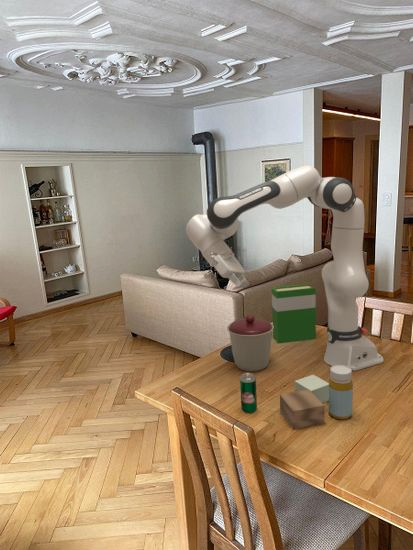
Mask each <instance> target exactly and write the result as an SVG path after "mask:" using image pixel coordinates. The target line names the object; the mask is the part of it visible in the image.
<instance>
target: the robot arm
mask: <svg viewBox="0 0 413 550" xmlns="http://www.w3.org/2000/svg"><path fill="white" fill-rule="evenodd" d="M304 199H307V200H308V201H309V203H310V204H312V205H313V206H314V207H318V208H322V209H326V210H331V214H332V217H333V220H332V226H331V227H332V228H331V229H332V230H331V239H330V240H331V241H330V249H331V253H332V255H333V261H328V262H327V263H326V264H325V265H324V266H323V267H322V269H321V278H322V281H323V284H324V291H325V296H326V302H327V309H328V310H327V319H328V320H327V322H328V323H327V327H326V340H327V341H326V342H327V343H326V350H325V354H324V356H323V361H324V362H325V363H326V364H327V365H329V366H331V367H332V366H335V365H344V366H347V367H349V368H351V370H352V371H354V372H355V371H359V370H362V369H366V368H369V367H373V366H376V365H378V364H382V363H384V357H383V356H382V355H381V354H380V353H378V350H377V346H376V345H375V343H374V342H373V341H372V340H370V339H368V338H367V337H366V336H364V335H367V334H368V329H366V328H365V327H361V326H359V306H358V304H357V301H356V299H359V298H361V297H363V296H364V295H365V294H366V293H367V292H368V289H369V284H370V283H369V279H368V277H367V274H366V270H365V263H364V254H363V245H364V244H363V243H364V233H365V217H366V216H365V206H364V202H363V201H362V200H361V199H360V198H359V197H357V195H356V194H355V188H354V186H353V184H352V183H351V181H350V180H348V179H346V178H345V177H335V176H327V177H322V176H320V173H319V171H318V170H317V168H316V167H314V166H312V165H310V164H309V165H308V164H305V165H303V166H299V167H296V168H293V169H291V170H288V171H286V172H285V173H283V174H280V175H278V176H276V177H275V178H273V179H270V180H268V181H266V182H263V183H262V182H261V183H259V184H257V185H255V186H253V187H251V188H248V189H246V190H244V191H241V192H239V193H236V194H234V195H227V196H221V197H217V198H215V199H214V200H212V201H210V203H209V204H208V206H207V209H206V214H201V213H200V214H199V213H198V214H197V213H196V214H195V215H193V216H192V217H191V218H190V219H189V220H188V221H187V223H186V226H185V233H186V235H187V237H188V239H189V240H190V241H191V242H192V244H193V245H194V247H195V248H197V249H198V250H199V251H200V253H201V254H202V257H203V258H204V259H205V260H206V262H207V263H208V264H209V266H211V267H212V268H213V267H214V269H215V270H216V271H217V273H218V274H219V275H220V276H221V277H222V278H225V279H228V280H229V281H230V282H231V283H233V284H234V285H235V287H237V288H240V287H241V286H243V287H244V288H247V287H249V285H250V283H249V282H248V281H247V279H246V277H245V274H246V271H245V269H244V267H243V266H242V265H241V263H240V262H239V260H238V259H237V257H235V253H234V251H232V249H231V248H230V247H229V245H228V244H227V243H226V241H225V240H227V239H228V238H230V237H232V236H234V235H236V233H237V231H238V229H239V217H241V215H242V214H243V213H245V212H248V211H250V210H252V209H255V208H256V207H259V206H261V205H265V204H268V205H270V206H271V207H272V208H275V209H280V210H282V209H285V208H288V207H290V206H293V205H294V204H296V203H298V202H301V201H302V200H304ZM363 334H364V335H363Z"/></svg>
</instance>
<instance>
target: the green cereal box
mask: <svg viewBox="0 0 413 550" xmlns="http://www.w3.org/2000/svg"><path fill="white" fill-rule="evenodd" d="M316 290H317V289H316V287H312V286H311V284H310V283H306V284H304V283H303V284H294V285H286V286H284V285H283V286H274V287H271V305H272V306H271V310H272V311H271V313H272V314H271V315H272V316H271V317H272V318H271V319H272V324H273V326H274V329H273V330H272V339H274V340H275V342H276V343H277V344H278V345H279V344H285V343H286V344H287V343H296V342H304V341H310V340H311V341H312V340H316V339H317V338H316V337H317V335H316V334H317V331H316V326H317V325H316V324H317V323H316V320H317V319H316V318H317V317H316V316H317V315H316V310H317V309H316V296H317V294H316V293H317V291H316Z"/></svg>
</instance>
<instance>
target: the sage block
mask: <svg viewBox="0 0 413 550" xmlns="http://www.w3.org/2000/svg"><path fill="white" fill-rule="evenodd" d="M308 389H309V390H310V391H311V392H312V393H313V394H314V395H315V396H316V397H317V398H318V399H319V400H320V401H321V402H322V403H323V404H324V403H327V402H329V382H327V381H325V379H323V378H320V377H318V376H316V375H315V374H311V375H308V376H305V377H302V378H299V379H296V380H294V392H297V391H302V390H308Z"/></svg>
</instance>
